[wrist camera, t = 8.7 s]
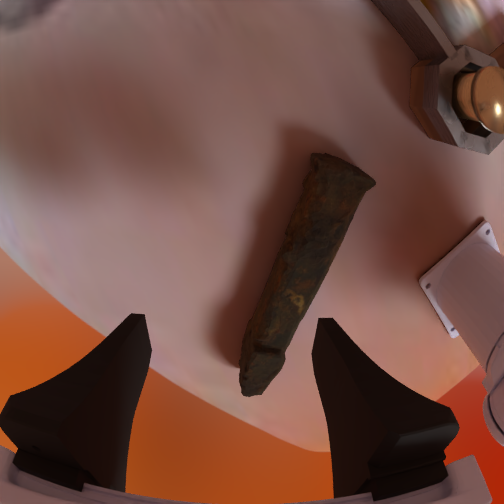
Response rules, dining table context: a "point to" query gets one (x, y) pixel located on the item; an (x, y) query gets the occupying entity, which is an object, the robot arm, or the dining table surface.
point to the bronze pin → (480, 97)
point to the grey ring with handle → (440, 71)
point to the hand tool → (300, 266)
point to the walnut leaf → (417, 87)
